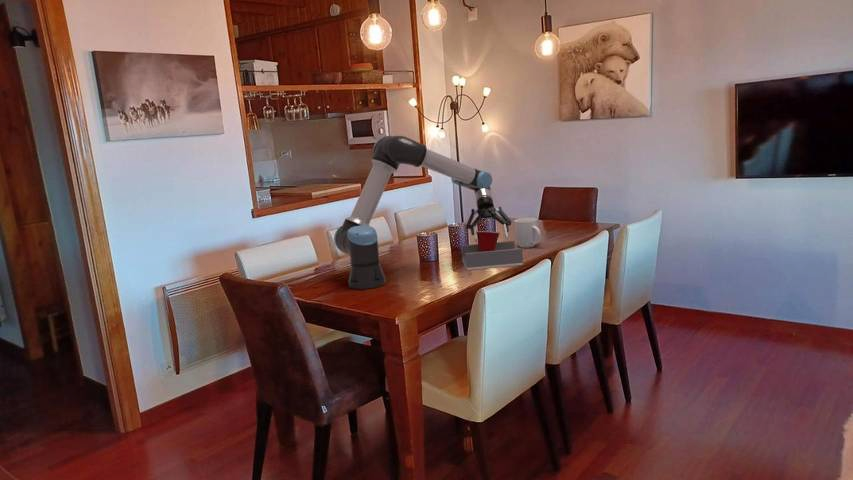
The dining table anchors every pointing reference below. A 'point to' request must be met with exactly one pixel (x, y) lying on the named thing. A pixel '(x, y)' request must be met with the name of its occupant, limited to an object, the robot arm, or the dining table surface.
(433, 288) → the dining table surface
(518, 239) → the mug
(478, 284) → the dining table surface
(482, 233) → the plastic cup
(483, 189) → the robot arm
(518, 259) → the dock
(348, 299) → the dining table surface
